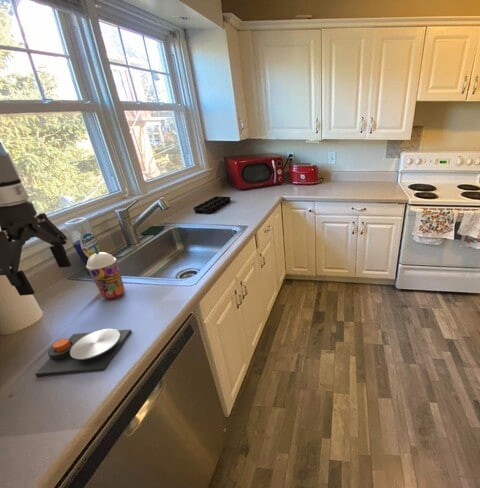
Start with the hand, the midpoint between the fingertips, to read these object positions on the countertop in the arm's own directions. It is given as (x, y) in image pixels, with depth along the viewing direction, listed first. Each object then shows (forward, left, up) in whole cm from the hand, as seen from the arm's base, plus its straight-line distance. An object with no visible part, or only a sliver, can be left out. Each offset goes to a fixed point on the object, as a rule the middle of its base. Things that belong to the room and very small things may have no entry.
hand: (48, 279), depth 75 cm
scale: (+7, -7, -20) cm, 23 cm away
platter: (+10, -7, -17) cm, 21 cm away
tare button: (+2, -7, -18) cm, 19 cm away
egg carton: (+10, +122, -20) cm, 124 cm away
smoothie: (-1, +21, -20) cm, 29 cm away
